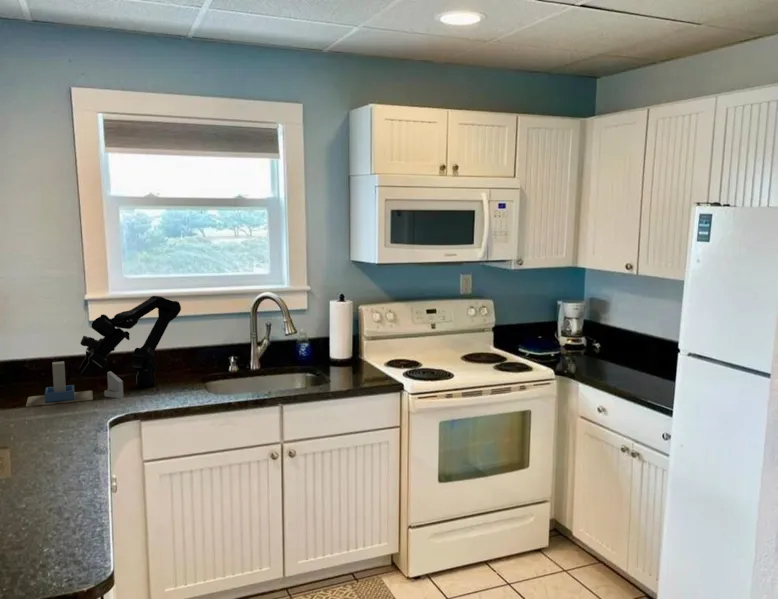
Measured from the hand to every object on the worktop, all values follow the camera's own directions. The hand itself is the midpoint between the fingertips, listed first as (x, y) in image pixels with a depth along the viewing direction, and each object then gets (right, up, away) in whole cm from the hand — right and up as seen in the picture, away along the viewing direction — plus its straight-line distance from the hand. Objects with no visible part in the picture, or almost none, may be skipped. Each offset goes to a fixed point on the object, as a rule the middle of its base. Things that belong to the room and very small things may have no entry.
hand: (80, 372), depth 245 cm
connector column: (-6, -9, -3) cm, 11 cm away
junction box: (-6, -9, -3) cm, 12 cm away
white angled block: (+12, -10, +2) cm, 16 cm away
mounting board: (-6, -10, -2) cm, 12 cm away
